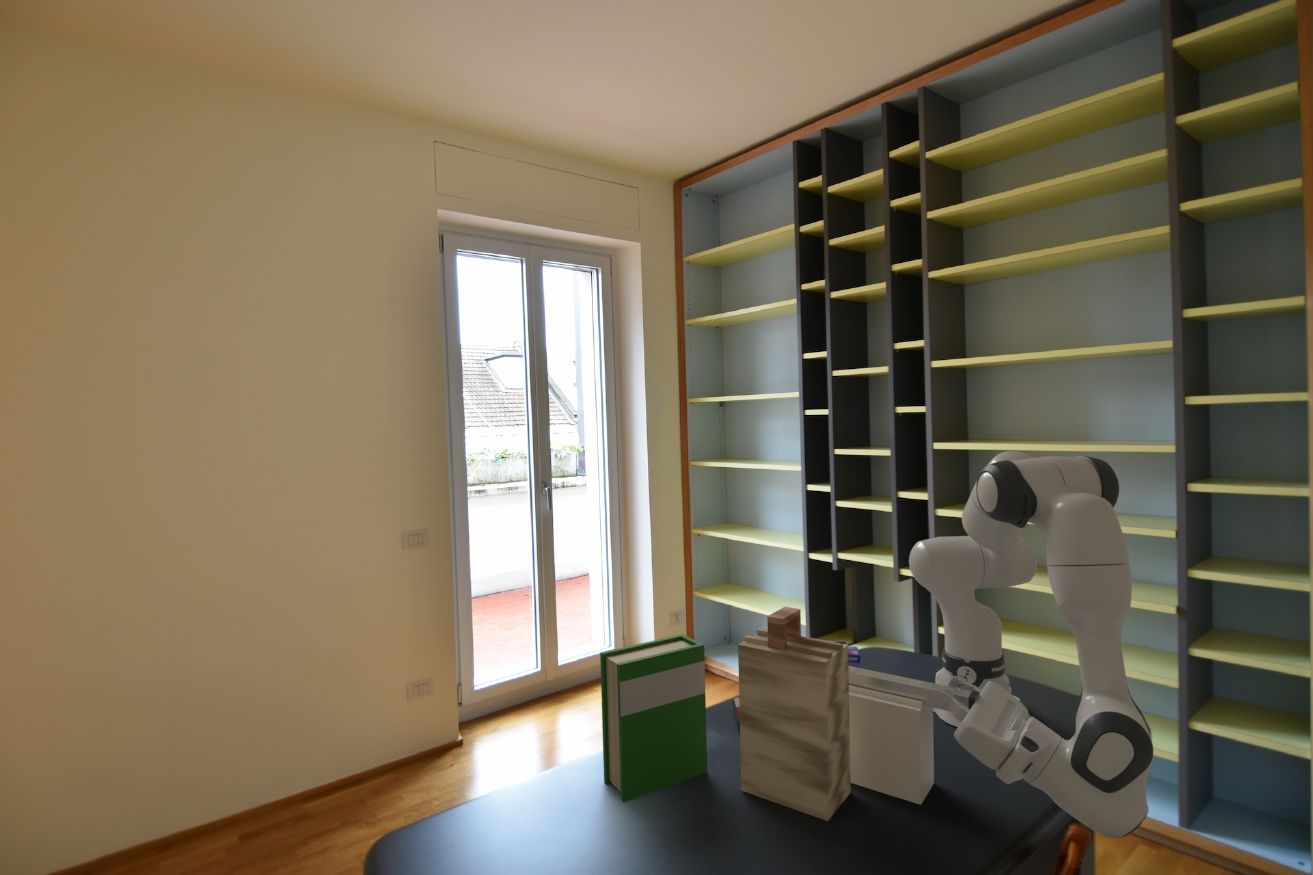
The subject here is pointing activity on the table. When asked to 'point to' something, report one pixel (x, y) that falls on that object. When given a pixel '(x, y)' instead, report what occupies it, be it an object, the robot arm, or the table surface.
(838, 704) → the paper bag with handle
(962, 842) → the table surface
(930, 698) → the grey square bar
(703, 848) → the table surface
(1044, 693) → the table surface
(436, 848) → the table surface
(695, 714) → the hardback book
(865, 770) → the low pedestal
